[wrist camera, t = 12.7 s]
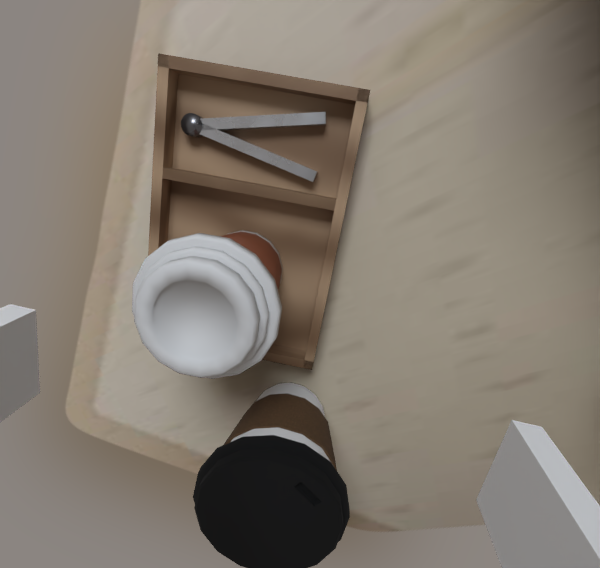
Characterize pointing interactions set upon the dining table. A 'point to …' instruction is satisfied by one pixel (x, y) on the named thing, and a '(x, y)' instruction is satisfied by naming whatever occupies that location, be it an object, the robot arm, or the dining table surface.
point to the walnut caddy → (259, 179)
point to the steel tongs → (215, 127)
